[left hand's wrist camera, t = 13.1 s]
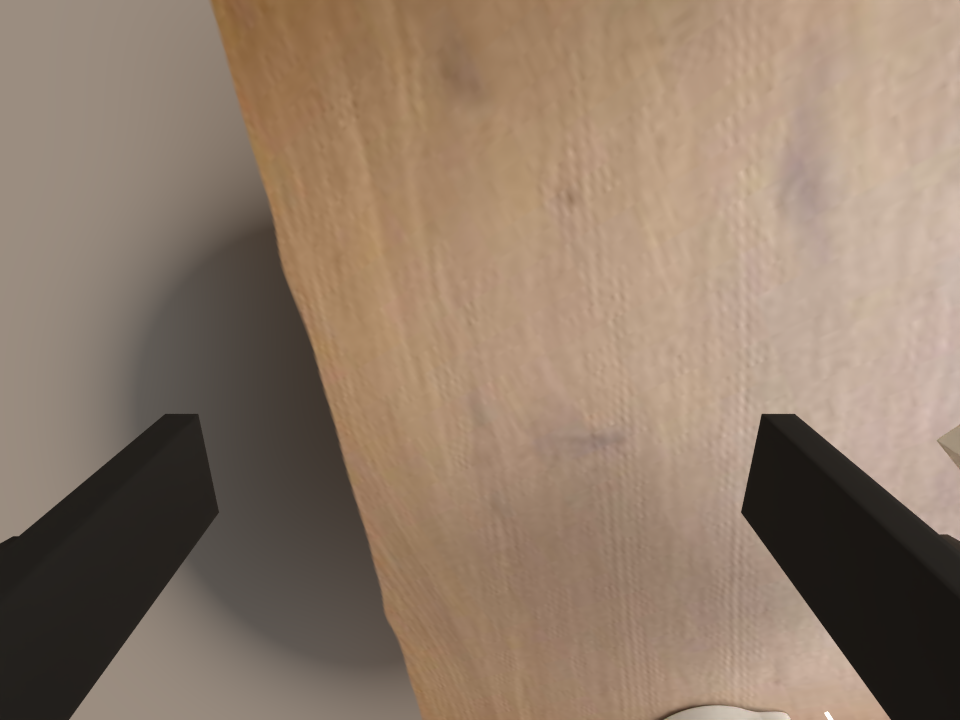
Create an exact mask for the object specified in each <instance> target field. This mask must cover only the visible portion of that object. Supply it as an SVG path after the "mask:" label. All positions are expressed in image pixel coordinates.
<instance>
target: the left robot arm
mask: <svg viewBox="0 0 960 720" xmlns="http://www.w3.org/2000/svg"><path fill="white" fill-rule="evenodd" d="M218 513H219V511H218V506H217V501H216V496H215V492H214V487H213V482H212V477H211V473H210V468H209V463H208V458H207V454H206V449H205V444H204V439H203V435H202V430H201V425H200V420H199V415H198V414H165V415H164V416H162V417H161V418H160V419H159V420H158V421H156V422H155V423H154V424H153V425H152V426H150V427H149V428H148V429H147V430H146V431H144V432H143V433H142V434H141V435H140V436H138V437H137V438H136V439H135V440H134V441H132V442H131V443H130V444H129V445H128V446H126V447H125V448H124V449H123V450H122V451H120V452H119V453H118V454H117V455H116V456H114V457H113V458H112V459H111V460H110V461H109V462H107V463H106V464H105V465H104V466H102V467H101V468H100V469H99V470H98V471H97V472H95V473H94V474H93V475H92V476H91V477H89V478H88V479H87V480H86V481H85V482H83V483H82V484H81V485H80V486H79V487H77V488H76V489H75V490H74V491H73V492H71V493H70V494H69V495H68V496H67V497H65V498H64V499H63V500H62V501H61V502H59V503H58V504H57V505H56V506H55V507H53V508H52V509H51V510H50V511H49V512H47V513H46V514H45V515H44V516H43V517H41V518H40V519H39V520H38V521H37V522H35V523H34V524H33V525H32V526H31V527H29V528H28V529H27V530H26V531H25V532H23V533H22V534H21V535H20V536H13V537H11V538H9V539H8V540H6V541H4V542H2V543H0V720H69V719H70V717H71V716H72V715H73V713H74V712H75V711H76V709H77V708H78V706H79V705H80V704H81V702H82V701H83V700H84V698H85V697H86V695H87V694H88V693H89V691H90V690H91V689H92V687H93V686H94V684H95V683H96V682H97V680H98V679H99V677H100V676H101V675H102V673H103V672H104V671H105V669H106V668H107V666H108V665H109V664H110V662H111V661H112V659H113V658H114V657H115V655H116V654H117V653H118V651H119V650H120V648H121V647H122V646H123V644H124V643H125V641H126V640H127V639H128V637H129V636H130V635H131V633H132V632H133V630H134V629H135V628H136V626H137V625H138V624H139V622H140V621H141V619H142V618H143V617H144V615H145V614H146V612H147V611H148V610H149V608H150V607H151V605H152V604H153V603H154V601H155V600H156V599H157V597H158V596H159V594H160V593H161V592H162V590H163V589H164V588H165V586H166V585H167V583H168V582H169V581H170V579H171V578H172V576H173V575H174V574H175V572H176V571H177V570H178V568H179V567H180V565H181V564H182V563H183V561H184V560H185V559H186V557H187V556H188V554H189V553H190V552H191V550H192V549H193V547H194V546H195V545H196V543H197V542H198V541H199V539H200V538H201V536H202V535H203V534H204V532H205V531H206V529H207V528H208V527H209V525H210V524H211V522H212V521H213V520H214V518H215V517H216V516H217V514H218ZM741 513H742V514H743V516H744V517H745V518H746V520H747V521H748V523H749V524H750V525H751V527H752V528H753V529H754V531H755V532H756V534H757V535H758V536H759V538H760V539H761V541H762V542H763V543H764V545H765V546H766V547H767V549H768V550H769V552H770V553H771V554H772V556H773V557H774V559H775V560H776V561H777V563H778V564H779V565H780V567H781V568H782V570H783V571H784V572H785V574H786V575H787V576H788V578H789V579H790V581H791V582H792V583H793V585H794V586H795V588H796V589H797V590H798V592H799V593H800V594H801V596H802V597H803V599H804V600H805V601H806V603H807V604H808V606H809V607H810V608H811V610H812V611H813V612H814V614H815V615H816V617H817V618H818V619H819V621H820V622H821V624H822V625H823V626H824V628H825V629H826V630H827V632H828V633H829V635H830V636H831V637H832V639H833V640H834V641H835V643H836V644H837V646H838V647H839V648H840V650H841V651H842V653H843V654H844V655H845V657H846V658H847V659H848V661H849V662H850V664H851V665H852V666H853V668H854V669H855V671H856V672H857V673H858V675H859V676H860V677H861V679H862V680H863V682H864V683H865V684H866V686H867V687H868V689H869V690H870V691H871V693H872V694H873V695H874V697H875V698H876V700H877V701H878V702H879V704H880V705H881V706H882V708H883V709H884V711H885V712H886V713H887V715H888V716H889V718H890V719H891V720H960V541H958V540H957V539H955V538H953V537H951V536H949V535H939V534H938V533H937V532H935V531H934V530H933V529H932V528H931V527H929V526H928V525H927V524H926V523H925V522H923V521H922V520H921V519H920V518H919V517H917V516H916V515H915V514H914V513H913V512H911V511H910V510H909V509H908V508H907V507H905V506H904V505H903V504H902V503H901V502H899V501H898V500H897V499H896V498H895V497H893V496H892V495H891V494H890V493H889V492H887V491H886V490H885V489H884V488H883V487H881V486H880V485H879V484H878V483H877V482H876V481H874V480H873V479H872V478H871V477H870V476H868V475H867V474H866V473H865V472H864V471H862V470H861V469H860V468H859V467H858V466H856V465H855V464H854V463H853V462H852V461H850V460H849V459H848V458H847V457H846V456H844V455H843V454H842V453H841V452H840V451H838V450H837V449H836V448H835V447H834V446H832V445H831V444H830V443H829V442H828V441H826V440H825V439H824V438H823V437H822V436H820V435H819V434H818V433H817V432H816V431H814V430H813V429H812V428H811V427H810V426H808V425H807V424H806V423H805V422H804V421H802V420H801V419H800V418H799V417H798V416H796V415H795V414H762V415H761V420H760V425H759V430H758V435H757V439H756V444H755V449H754V454H753V458H752V463H751V468H750V473H749V477H748V482H747V487H746V492H745V496H744V501H743V506H742V511H741Z"/></svg>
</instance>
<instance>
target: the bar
mask: <svg viewBox="0 0 960 720" xmlns="http://www.w3.org/2000/svg"><path fill="white" fill-rule="evenodd" d="M937 442H938V443H939V444H940V445H941V447H942V448H943V449H944V450H945V452H946V453H947V454H948V455H949V457H950V458H951V459H952V460H953V462H954V463H955V464H956V465H957V467H958V468H959V469H960V425H959V426H957V427H956V428H954V429H953V430H951V431H950V432H948V433H947V434H945V435H944V436H942V437H941V438H939V439H938V440H937Z"/></svg>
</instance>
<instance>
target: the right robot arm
mask: <svg viewBox="0 0 960 720" xmlns="http://www.w3.org/2000/svg"><path fill="white" fill-rule="evenodd" d="M825 714H826V716H827V718H828V719H829V720H833V719H832V717H831V716H830V714H829V713H828V712H826V713H825ZM664 720H791V719H790V717H789V715H788V714H786V713H784V712H777V711H770V712H754V711H749V710H746V709H742V708H738V707H733V706H725V705H710V706H701V707H695V708H691V709H687V710H684V711H681V712H678V713H676V714H673V715H671V716H669V717H667V718H666V719H664Z"/></svg>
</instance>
